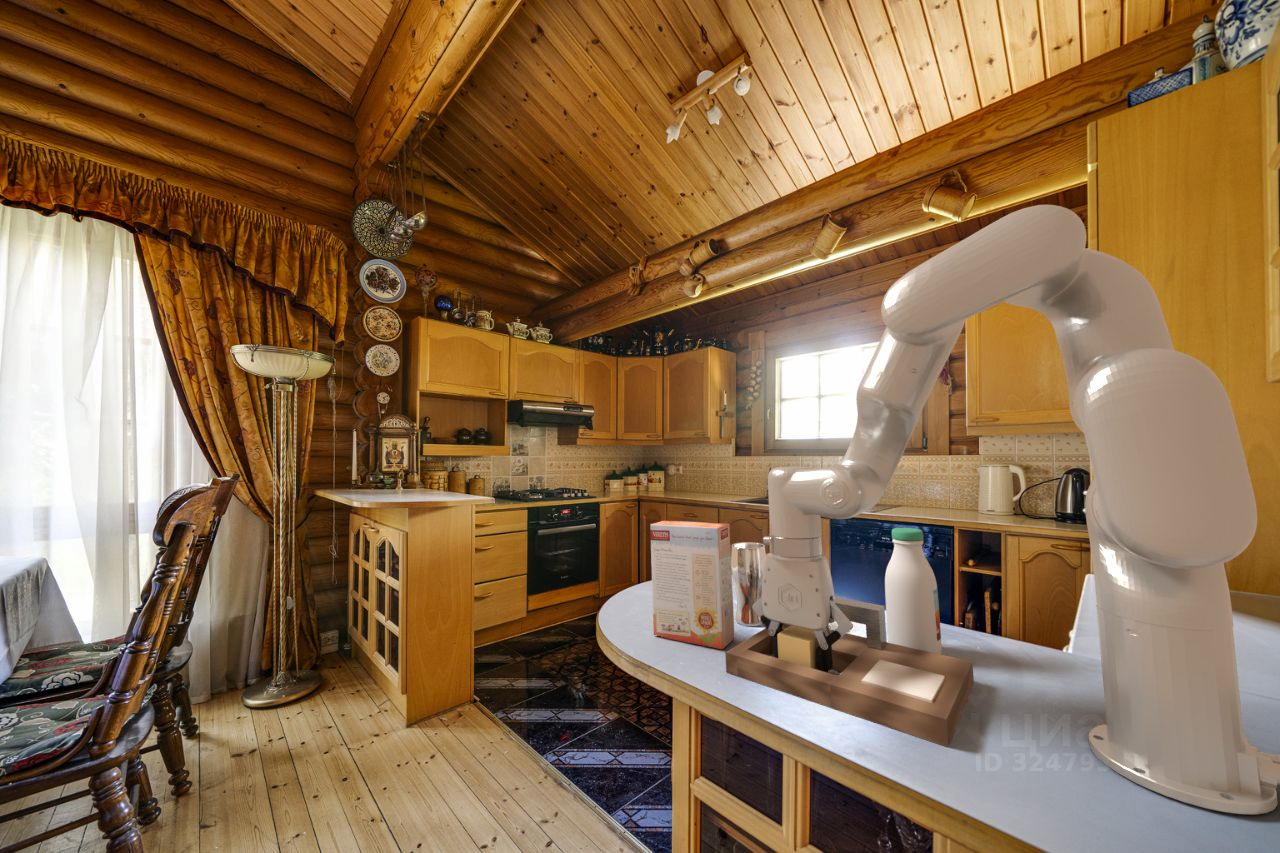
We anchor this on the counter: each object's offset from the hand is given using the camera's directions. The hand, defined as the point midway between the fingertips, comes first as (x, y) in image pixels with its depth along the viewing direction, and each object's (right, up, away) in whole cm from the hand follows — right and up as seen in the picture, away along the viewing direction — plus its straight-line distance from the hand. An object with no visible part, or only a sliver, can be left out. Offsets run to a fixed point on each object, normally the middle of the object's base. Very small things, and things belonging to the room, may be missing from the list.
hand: (801, 665), depth 72 cm
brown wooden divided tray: (+6, -1, -2) cm, 6 cm away
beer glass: (-2, -3, +22) cm, 23 cm away
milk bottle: (+21, -1, +7) cm, 22 cm away
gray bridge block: (+7, +2, +7) cm, 10 cm away
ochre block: (0, -1, 0) cm, 1 cm away
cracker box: (-15, -3, +15) cm, 21 cm away
